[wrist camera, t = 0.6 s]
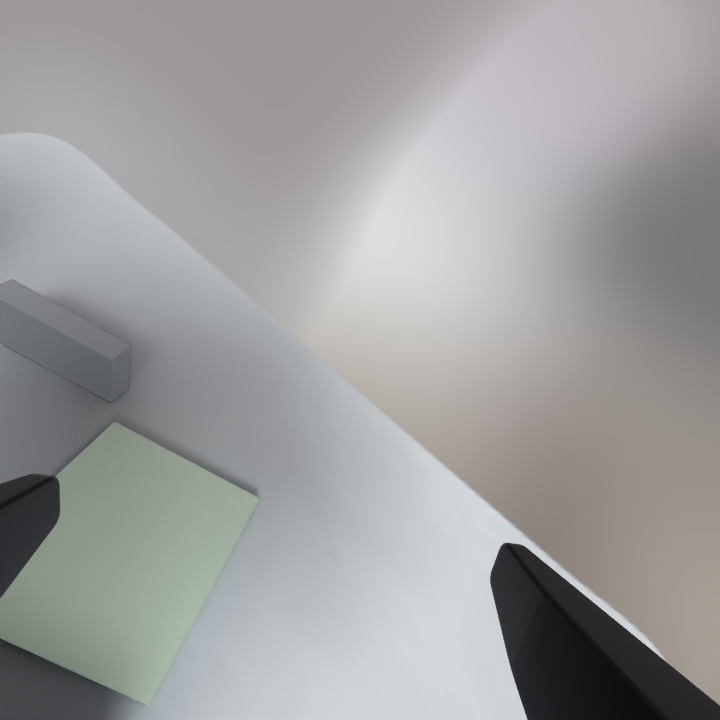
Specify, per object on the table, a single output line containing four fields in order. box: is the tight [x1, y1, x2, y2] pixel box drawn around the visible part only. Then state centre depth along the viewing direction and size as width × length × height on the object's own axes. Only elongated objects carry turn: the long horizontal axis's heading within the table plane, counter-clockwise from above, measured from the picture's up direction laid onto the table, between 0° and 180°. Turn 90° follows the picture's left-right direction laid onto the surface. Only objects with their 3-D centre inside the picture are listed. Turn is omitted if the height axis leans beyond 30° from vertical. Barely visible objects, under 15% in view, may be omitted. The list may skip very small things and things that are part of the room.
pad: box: [0, 421, 260, 706], centre depth 15 cm, size 8×8×1 cm
